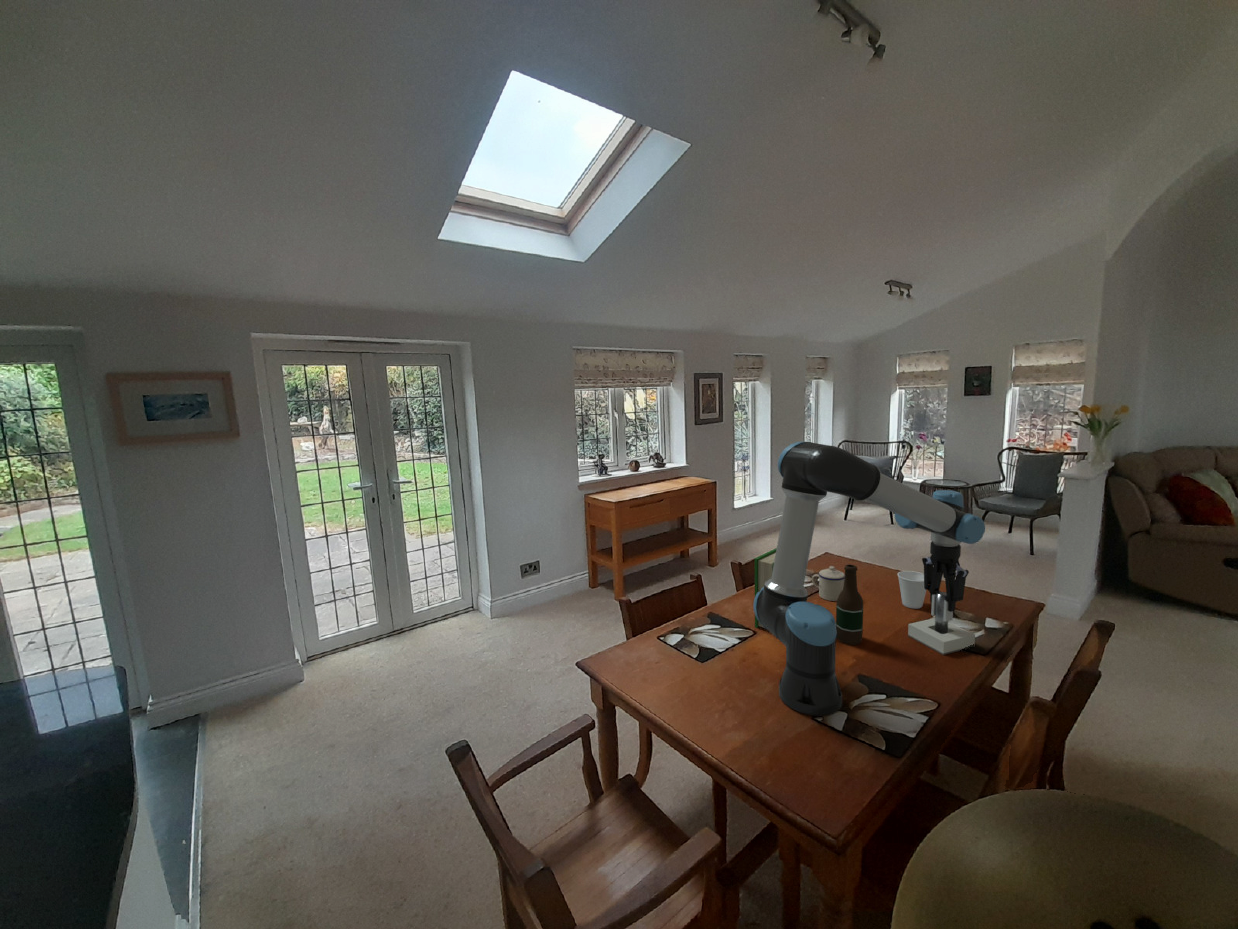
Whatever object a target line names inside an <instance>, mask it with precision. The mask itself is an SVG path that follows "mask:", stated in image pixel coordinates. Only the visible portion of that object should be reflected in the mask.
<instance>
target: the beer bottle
mask: <svg viewBox="0 0 1238 929" xmlns="http://www.w3.org/2000/svg"><path fill="white" fill-rule="evenodd" d="M843 569H844V574H845V577H844V587H843V590H842V591H841V592H840V594H839V596H838V599H837V601H836V607H835V608H836V609H835V610H836V612H835V622H836V631H837V635H836V640H838V641H839V642H840V643H842V644H846V645H850V646H854V645H855V646H856V645H860V644H861V643H862V640H863V632H864V631H863V630H864V629H863V628H864V600H863V597H862V595H861V593H860V592H859V590H858V589H859V588H858V582H857V578H858V577H857V571H858V566H856V565H854V564H850V563H849V564H845V565H844V568H843Z"/></svg>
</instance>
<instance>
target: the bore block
mask: <svg viewBox="0 0 1238 929" xmlns="http://www.w3.org/2000/svg"><path fill="white" fill-rule="evenodd" d="M907 626H908V627H907V629H908V631H907V633H908V634H907V637H909V638H910V639H913V640H915V641H916V642H918V643H920V644H922V645H924V646H925V647H928V648H929V649H932V650H933V651H935V652H936V653H939V654H940V655H942V656H944V655H949V654H952V653H956V652H960V650H961V651H963V650H962V649H964V648H965V647H968V646H970V645H973V644H974V645H975V642H976V641H975V639H976V634H975V633H973V632H970V631H968V630H966V629H964V628H962V627H960V626H958V625H956V624H954V623H952V622H949V621H948V633H946V634H940V633H938V632H936V631H935V630H934V629H935V617H934V618H929V619H925V620H919V621H916V622H912V623H908V625H907Z"/></svg>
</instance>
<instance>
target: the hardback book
mask: <svg viewBox="0 0 1238 929" xmlns="http://www.w3.org/2000/svg"><path fill="white" fill-rule="evenodd" d="M776 549H777V547H776V548H773V549H771V550H769V551H767V552H765V553H763V554H760V555H759V556H757V557H755V558H754V566H753V567H754V597H755V596H756V594H757V593H758V592H760V591H761V589H762V588H763V587H764V584H765V582H766V581H767V580H769V579H771V577H772V572H773V566H774V560H775V555H776ZM754 628H755V629H759V628H763V629H765V628H764V627H763V625H762V624H761V623H760V622H759V620H758V619H757V618H756V616H755V615H754Z"/></svg>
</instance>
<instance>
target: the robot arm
mask: <svg viewBox="0 0 1238 929" xmlns="http://www.w3.org/2000/svg"><path fill="white" fill-rule="evenodd" d="M777 470H778V473H779V475H780V476H781V477H782V483H781V490H782V491H783V492H784V494H785V500H784V505H783V509H782V510H783V511H782V517H781V522H780V527H779V534H778V539H777V544H776V548H777V549H776V555H775V560H774V566H773V572H772V577H771V579H769V580H767V581H766V582H765V584H764V587H763V588H762V589H761V591H760V592H758V593H757V594H756V596H755V595H754V599H753V604H752V605H753V613H754V617H755V616H756V618H757V619H758V620H759V622H760V623H761V624H762V625H763V627H764V628H763V627H762V628H763V629H765V630H767V631H768V632H770V633H771V634H772V635H773V636H774V637H775V639H778V640H779V642H780V643H782V644H783V645H784V646H785V649H786V650H785V668H784V671H783V673H782V677H781V678H780V680H779V682H778V696H779V698H780V699H781V701H782V702H783V703H784V704H785V705H786V706H787V707H788V708H790V709H792V710H794V711H796V712H798V713H801V714H804V715H808V716H813V717H815V716H817V717H822V716H825V717H826V716H830V715H833V714H836V713H837V712H839V711H840V710H841V708H842V707H843V693H842V692H843V691H842V690H841V687H840V683H839V680H838V678H837V675H836V654H837V653H836V651H837V650H836V649H837V646H836V645H837V638H836V635H837V631H836V617H834V614H833V613H832V612H831V611H830V610H829V609H827V608H826V607H825V606H823V605H820V604H815V603H814V602H811V601H808V596H809V591H808V590H807V589H806V587H805V586H804V585H805V579H806V575H807V569H808V565H809V564H808V563H809V560H810V553H811V548H812V547H811V546H812V542H813V537H814V536H813V535H814V532H815V531H814V530H815V525H816V521H817V515H818V508H819V504H820V501H821V500H822V499H824V498H826V497H827V494H828V493H832V494H837V495H841V496H844V497H848V498H851V499H853V500H855V501H857V502H864V501H868V502H869V503H871V504H873V505H876V506H879V507H880V508H883V509H885V510H887V511H890V512H891V513H893V514H894V519H895V520H894V521H895V522H896V523H897V525H898V526H899V527H900V528H903V529H905V530H907V529H908V530H914V529H920V530H923V531H926V532H930V541H931V542H930V544H929V545H930V547H929V548H930V549H929V550H930V551H929V552H930V556H927V557H922V558H921V561H922V564H923V574H924V588H925V589H926V591H928V592H929V598H930V599H929V602H930V603H929V604H931V611H930V612H931V613H930V615H931V616H932V617H935V609H936V592H942V591H941V590H940V589H941V588H940V587H941V583H942V579H943V578H944V582H945V592H946V593H947V599H945V600H944V617H943V621H945V622H946V621H948V622H949V621H950V622H951V621H953V620H954V618H953V617H954V612H955V611H956V606H957V605H956V602H961V601H963V600H964V596H965V588H966V580H967V576H969V573H970V571H969V570H968V569H964V568H963V567H961V564H960V560H959V559H960V558H961V553H962V552H961V550H962V546H961V544H962V543H965V544H969V545H974V544H977V543H978V542H980V541H981V540H982V539H983V536H984V535H985V533H986V524H985V522H984V520H983V519H982V518H981V517H979V516H977V515H975V514H974V515H973V514H972V513H968V512H967V513H966V512H964V508H965V506H964V496H963V495H964V494H962V493H961V492H960V491H959V492H958V491H955V490H945V489H944V490H943V489H941V490H940V489H939V490H936V491H934V492H933V493H932V497H931V495H927V494H926V493H923V492H921V491H919V490H918V489H915V488H912V487H910V486H909V485H907V484H904V483H902V482H900V481H898V480H896V479H895V478H892V477H890V476H888V475H886V474H884V473H882V472H881V470H880V468H879V467H878V466H876V465H874V464H873V463H871V462H868V461H866V460H865V459H863V458H861V457H859V456H857V455H856V454H854V453H851V452H850V451H848V450H845V449H844V448H841V447H838V446H836V445H831V444H829V445H828V444H823V443H816V442H812V441H797V442H796V441H795V442H793V443H791V444H789V445H788V446H787V447H784V449H783V450H782V452H781V453H780V455H779V457H778V460H777Z"/></svg>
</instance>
